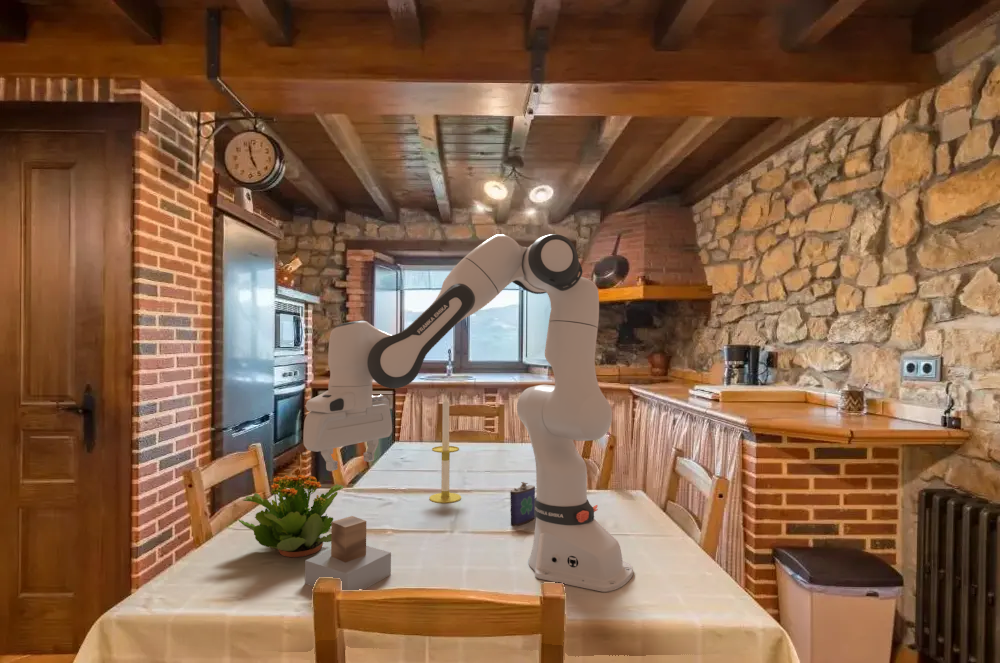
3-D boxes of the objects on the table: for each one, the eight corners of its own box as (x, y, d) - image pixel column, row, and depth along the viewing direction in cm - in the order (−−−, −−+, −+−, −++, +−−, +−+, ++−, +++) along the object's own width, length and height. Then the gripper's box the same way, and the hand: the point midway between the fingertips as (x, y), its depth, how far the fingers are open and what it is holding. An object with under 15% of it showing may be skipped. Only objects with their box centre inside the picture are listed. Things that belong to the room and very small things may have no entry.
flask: (529, 516, 150) (530, 477, 150) (538, 518, 148) (538, 479, 148) (508, 524, 143) (508, 484, 143) (516, 527, 141) (516, 486, 141)
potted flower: (376, 542, 130) (377, 469, 130) (304, 582, 109) (305, 495, 109) (298, 526, 140) (299, 459, 141) (218, 560, 119) (219, 481, 119)
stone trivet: (390, 576, 112) (391, 552, 112) (347, 600, 102) (348, 573, 102) (349, 564, 118) (349, 541, 118) (304, 585, 108) (305, 560, 108)
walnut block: (366, 555, 111) (366, 521, 111) (345, 562, 107) (345, 527, 107) (351, 548, 114) (352, 515, 114) (331, 555, 110) (331, 521, 110)
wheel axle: (467, 499, 166) (468, 393, 166) (440, 505, 159) (441, 395, 160) (449, 491, 173) (450, 391, 174) (422, 497, 167) (423, 393, 167)
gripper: (378, 393, 122) (379, 454, 122) (298, 402, 105) (298, 473, 105) (398, 395, 118) (398, 457, 118) (318, 405, 102) (318, 478, 101)
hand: (351, 465), depth 111 cm, fingers open, 8 cm apart
